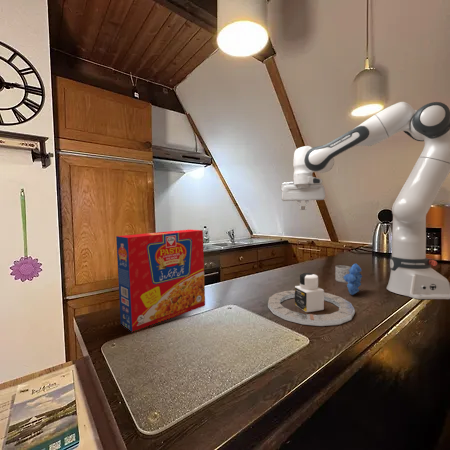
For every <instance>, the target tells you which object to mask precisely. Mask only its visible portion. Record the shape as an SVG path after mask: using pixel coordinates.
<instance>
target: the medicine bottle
mask: <svg viewBox="0 0 450 450" xmlns="http://www.w3.org/2000/svg"><path fill="white" fill-rule="evenodd" d="M294 290H295V298H294V306H296V307H297V308H299V309H301V310H302V311H303V312H305V313H311V312H312V313H313V312H318V311H323V310H324V309H325V306H324V305H325V304H324V302H325V300H324V292H325V290H324V289H323V288H321V287H319V276H318V275H317V274H316V273H312V272H304V273H300V274H299V285H295V286H294Z"/></svg>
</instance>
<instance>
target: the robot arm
mask: <svg viewBox="0 0 450 450" xmlns="http://www.w3.org/2000/svg"><path fill="white" fill-rule="evenodd" d="M401 132H404V133H405V134H406V135H407V136H409V137H410V138H411V139H413V140H414V141H417V142H424V146H423V149H422V151H421V153H420V155H419V157H418V158H417V160H416V162H415V164H414V165H413V168H412V170H411V171H410V173H409V175H408V177H407V178H406V181H405V183H404V184H403V186H402V188H401V190H400V191H399V193H398V195H397V197H396V199H395V200H394V202H393V204H392V208H391V214H392V234H391V255H390V260H389V267H390V275H389V278H388V279H389V280H388V284H387V285H386V290H388V291H389V292H392V293H395V294H398V295H402V296H405V297H410V298H412V299H416V300H450V282H449V280H448V279H447V278H446V277H445V276H444V275H442V274H441V273H439V272H438V271H436V270H435V269H433V267H436V266H437V265H438V262H437V260H434V259H429V258H428V257H426V256H427V254H426V253H427V250H426V249H427V232H426V231H427V227H426V226H427V222H426V221H427V220H426V219H427V218H426V217H427V214H428V212H429V211H430V209H431V207H432V205H433V204H434V202H435V199H436V198H437V196H438V194H439V192H440V191H441V188H442V186H443V184H444V183H445V181H446V180H447V178H448V176H449V174H450V107H449V106H448V105H447V104H445V103H444V102H441V101H435V102H434V101H433V102H429V103H427V104H424V105H422V106H421V107H419V108H418V109H414V107H413V106H412V105H411V104H410V103H408V102H406V101H398V102H395V103H394V104H392V105H389V106H387V107H386V108H383V109H382V110H380V111H378V112H376V113H375V114H374V115H372V116H370V117H368V118H367V119H365V120H364V121H363V122H361V123H360V124H359V125H357V126H356V127H353V128H352V129H351V130H349V131H347V132H345V133H344V134H342V135H340V136H338V137H337V138H334V139H333V140H332V141H330V142H328V143H325V144H324V145H317V146H313V147H312V146H310V145H304V146H299V147H298V148H296V149H295V150H294V152H293V161H292V163H293V165H292V166H293V175H292V176H293V177H292V179H293V181H288V182H286V181H285V182H282V183H281V185H280V190H281V200H282V202H296V201H297V204H298V206H299V211H306V210H307V206H308V205H309V203H310V202H309V201H324V200H325V199H326V188H325V185H323V179H322V178H319V177H315V176H313V173H320V174H324V173H328V172H330V171H331V170H332V169H333V167H334V165H335V159H334V158H336V157H337V156H339V155H341V154H343V153H344V152H346V151H348V150H350V149H352V148H354V147H359V146H361V147H362V146H364V147H366V146H367V147H369V146H370V147H371V146H375V145H377V144H381V142H383V141H385V140H387V139H389V138H390V137H393V136H394V135H396V134H398V133H401ZM302 201H304V203H305V205H302V204H301V202H302Z"/></svg>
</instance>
